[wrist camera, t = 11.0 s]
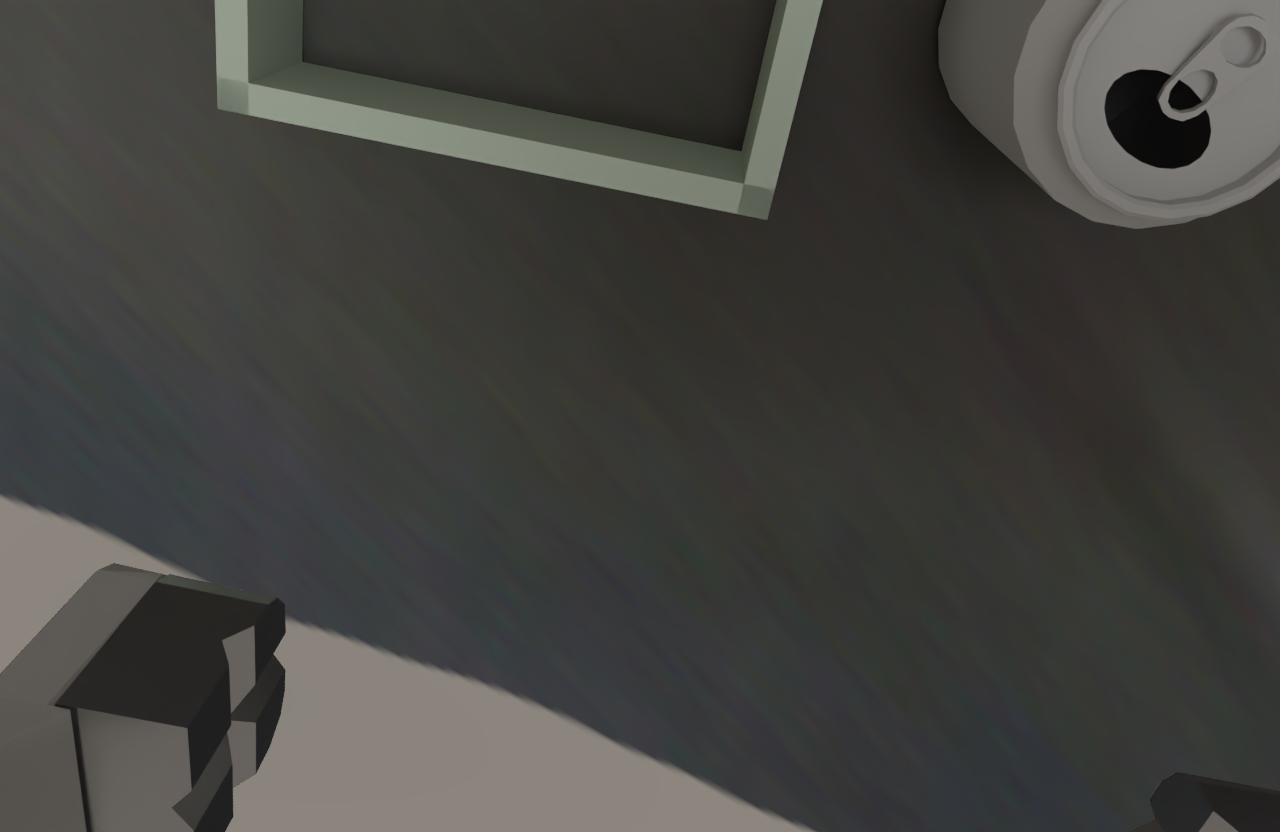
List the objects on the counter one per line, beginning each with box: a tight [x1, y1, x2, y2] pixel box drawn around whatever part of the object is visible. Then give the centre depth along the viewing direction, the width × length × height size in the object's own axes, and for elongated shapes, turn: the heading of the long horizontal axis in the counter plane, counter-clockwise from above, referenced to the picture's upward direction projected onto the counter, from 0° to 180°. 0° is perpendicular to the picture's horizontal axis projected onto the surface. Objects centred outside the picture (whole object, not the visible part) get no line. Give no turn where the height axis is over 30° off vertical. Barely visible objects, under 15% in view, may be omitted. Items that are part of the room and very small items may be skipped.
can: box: [938, 0, 1280, 229], centre depth 27 cm, size 8×8×12 cm
